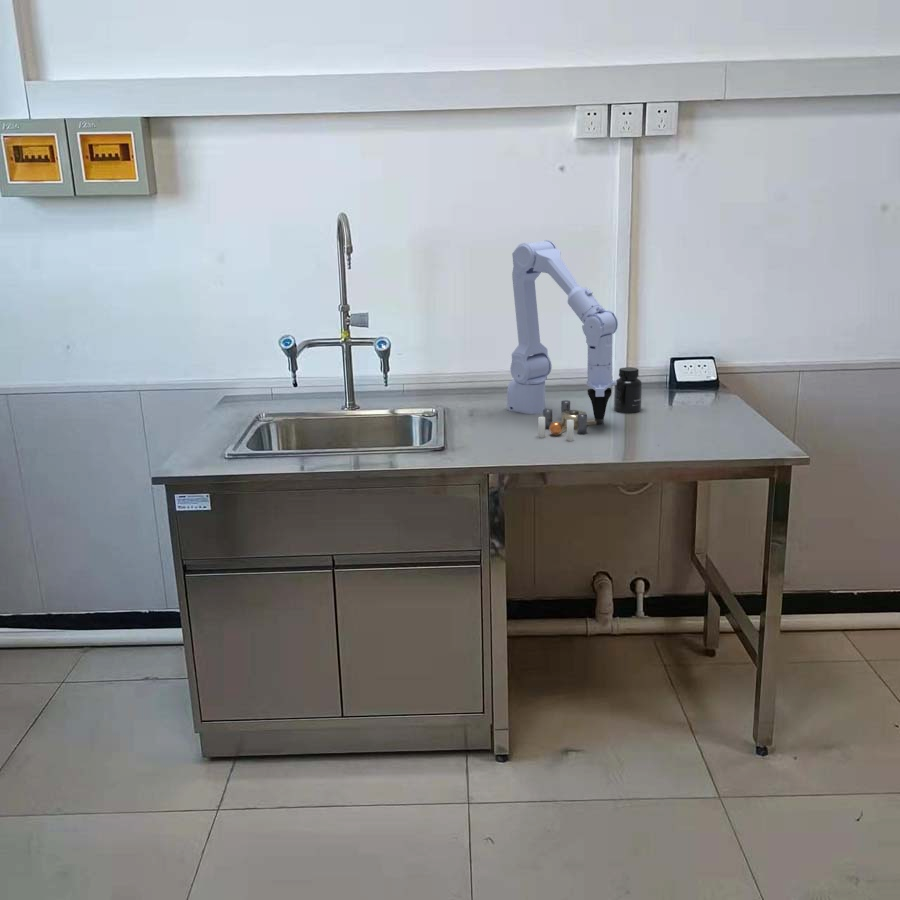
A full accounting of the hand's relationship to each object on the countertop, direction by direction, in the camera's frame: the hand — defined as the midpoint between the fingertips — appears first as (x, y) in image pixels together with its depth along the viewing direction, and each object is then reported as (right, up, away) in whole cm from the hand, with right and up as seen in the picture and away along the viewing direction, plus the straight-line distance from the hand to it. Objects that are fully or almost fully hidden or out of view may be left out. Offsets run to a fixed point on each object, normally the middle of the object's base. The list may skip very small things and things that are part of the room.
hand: (599, 418), depth 213 cm
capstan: (-6, -2, +2) cm, 6 cm away
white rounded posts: (-10, -5, -6) cm, 13 cm away
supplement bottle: (+10, +1, +14) cm, 17 cm away
